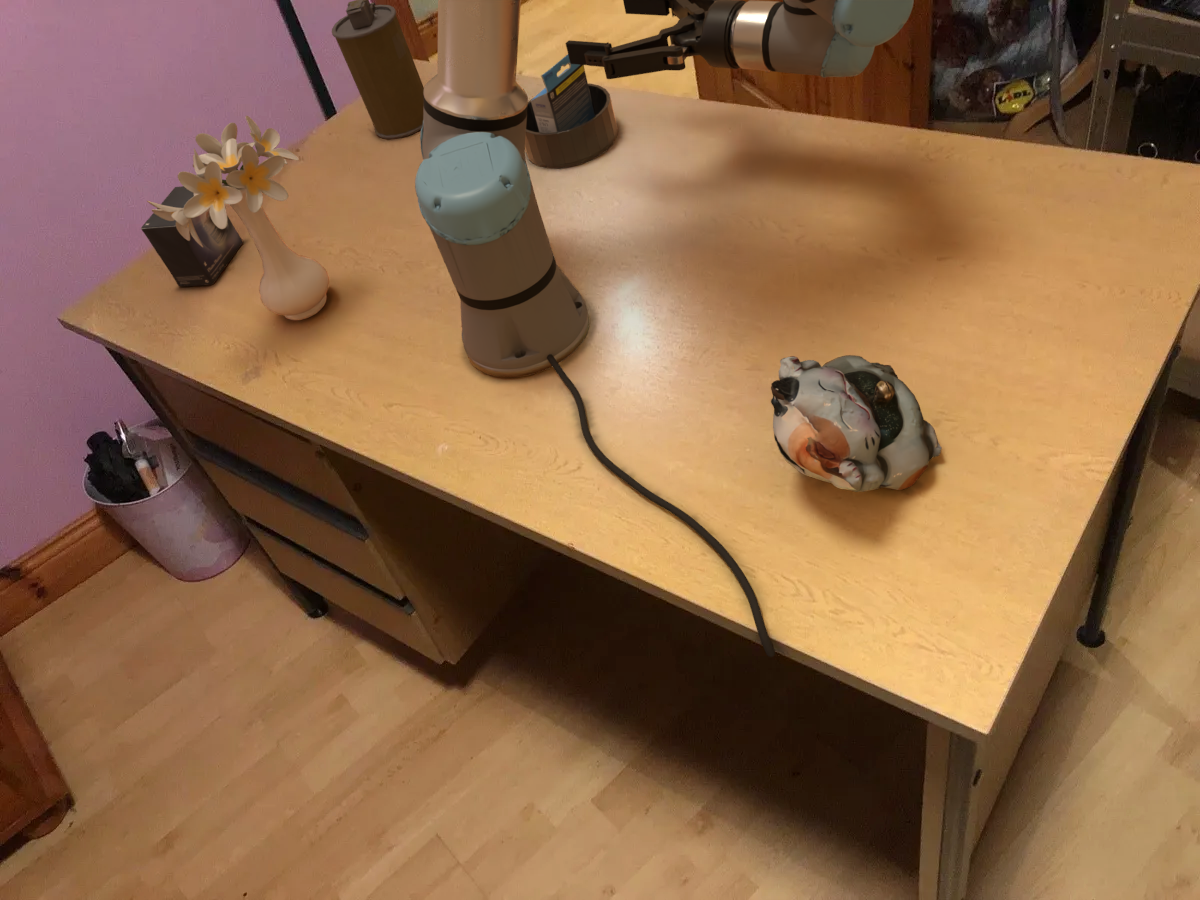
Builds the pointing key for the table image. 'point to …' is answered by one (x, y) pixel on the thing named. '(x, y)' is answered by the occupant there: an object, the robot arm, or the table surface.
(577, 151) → the round brown bowl
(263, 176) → the flower vase
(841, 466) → the lucky cat figurine
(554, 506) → the table surface
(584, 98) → the label tape box
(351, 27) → the canister
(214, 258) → the small box
